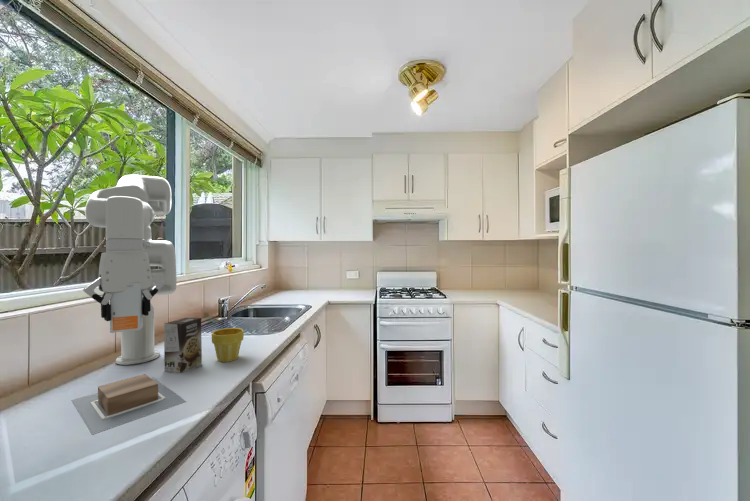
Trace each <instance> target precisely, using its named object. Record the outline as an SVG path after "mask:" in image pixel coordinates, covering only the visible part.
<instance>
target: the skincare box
mask: <svg viewBox="0 0 750 501" xmlns="http://www.w3.org/2000/svg"><path fill="white" fill-rule="evenodd" d="M109 304H110V305H111V320H110V321H109V332H110V334H111V333H112V334H113V333H121V332H125V331H137V330H140V329H141V328H142V326H143V307H142V291H141V287H140V282H139V283H129V284H128V286H127V288H126V289H125V291H123V292H120V293H113V295H112V297H111V298H110V300H109Z"/></svg>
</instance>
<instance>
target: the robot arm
mask: <svg viewBox="0 0 750 501" xmlns="http://www.w3.org/2000/svg"><path fill="white" fill-rule="evenodd" d="M171 209H172V188H171V184H170V183H169V181H168V180H167V179H165V178H164V177H162V176H161V177H160V176H155V175H153V176H152V175H144V174H143V175H142V174H127V175H126V174H125V175H123V176H122V177H121V178H120V179H119V180H118V181H117V184H116V186H113V187H108V188H103V189H102V188H101V189H99V190H96V191H94V192H92V193H91V194H90V196H89V198H88V199H87V201H86V204H85V208H84V215H85V219H86V221H87V223H88V224H89V225H91V226H92V227H96V228H103V229H104V228H105V250H106V251H105V252H101V254H100V255H101V256H100V260H99V266H98V267H99V269H98V278H97V279H95V280H94V281H92V282H91V283H90V284H88V285H86V287H85V288H83V289H82V291H83V292H84V294H86V295H87V296H89V297H90V298H91V299H93V300H94V301H96V302H97V303H99V304H100V317H101V318H102V319H103V320H104V321H106V322H110V320H111V305H110V298H111V297H112V295H113V293H120V292H123V291H125V289H126V288H127V286H128V284H129V283H139V282H140V287H141V291H142V307H143V326H142V328H141V329H140V330H137V331H125V332H120V350H121V351H120V354H121V355H119V356H118V357H117V358H116V359H115V364H118V365H123V366H126V365H127V366H128V365H130V366H131V365H136V364H137V365H138V364H143V363H148V362H150V361H152V360H154V359H157V358H158V357H160V355H161V352H160V351H159V350H156V349H155V308H154V306H153V304H152V303H151V300H152V299H153V297H155V296H165V295H172V294H173V293H175V291H176V289H177V260H176V259H177V257H176V249H175V245H174V244H173V243H172V241H169V240H164V239H163V240H157V239H156V240H154V239H153V240H152V228H151V224H152V223H153V222H154V219H155V216H165V215H168V214H170V212H171ZM151 267H160V269H159V268H156V269H155V268H154V269H153V268H151ZM97 288H98V290H99V291H100V292H102V295H99V294H98V293H96V292H95V289H97Z"/></svg>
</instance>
